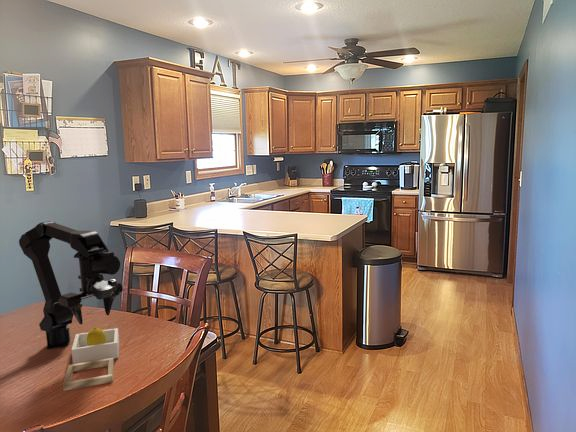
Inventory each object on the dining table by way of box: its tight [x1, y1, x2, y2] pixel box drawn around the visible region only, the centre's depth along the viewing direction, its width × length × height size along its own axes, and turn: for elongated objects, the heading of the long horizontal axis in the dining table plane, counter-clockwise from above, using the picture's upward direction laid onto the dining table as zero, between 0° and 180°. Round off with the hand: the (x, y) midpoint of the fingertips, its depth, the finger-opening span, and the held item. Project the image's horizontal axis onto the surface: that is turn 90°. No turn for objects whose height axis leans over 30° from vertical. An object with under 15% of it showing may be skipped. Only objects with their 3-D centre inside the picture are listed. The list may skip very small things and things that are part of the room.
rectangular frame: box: [62, 358, 115, 392], centre depth 129 cm, size 12×12×2 cm
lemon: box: [87, 327, 106, 346], centre depth 144 cm, size 6×6×8 cm
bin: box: [71, 327, 120, 364], centre depth 144 cm, size 13×13×5 cm
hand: (94, 319), depth 143 cm, fingers open, 9 cm apart
